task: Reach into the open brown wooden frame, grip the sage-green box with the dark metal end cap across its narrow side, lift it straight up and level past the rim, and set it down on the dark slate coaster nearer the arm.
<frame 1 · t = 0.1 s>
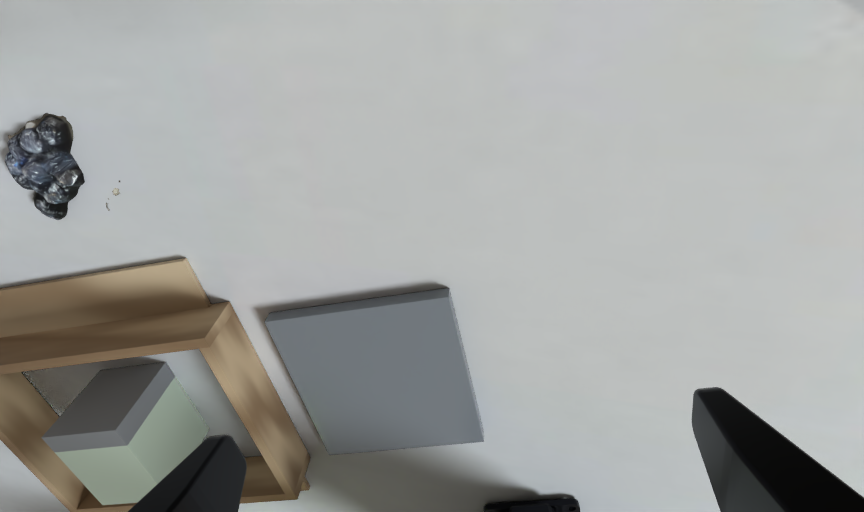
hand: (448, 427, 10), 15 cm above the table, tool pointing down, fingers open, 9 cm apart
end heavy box: (156, 400, 32), resting in wooden frame
blueberries: (68, 169, 24), on the table
coaster: (383, 375, 29), on the table
wooden frame: (156, 401, 32), on the table
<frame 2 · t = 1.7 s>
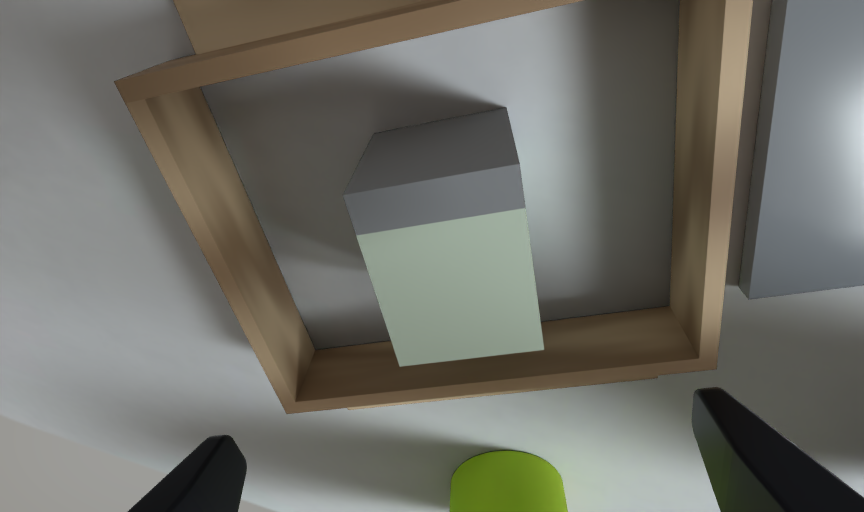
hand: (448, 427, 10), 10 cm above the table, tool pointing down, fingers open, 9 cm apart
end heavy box: (455, 201, 18), resting in wooden frame
wooden frame: (455, 202, 18), on the table
soap dispenser: (515, 484, 27), on the table
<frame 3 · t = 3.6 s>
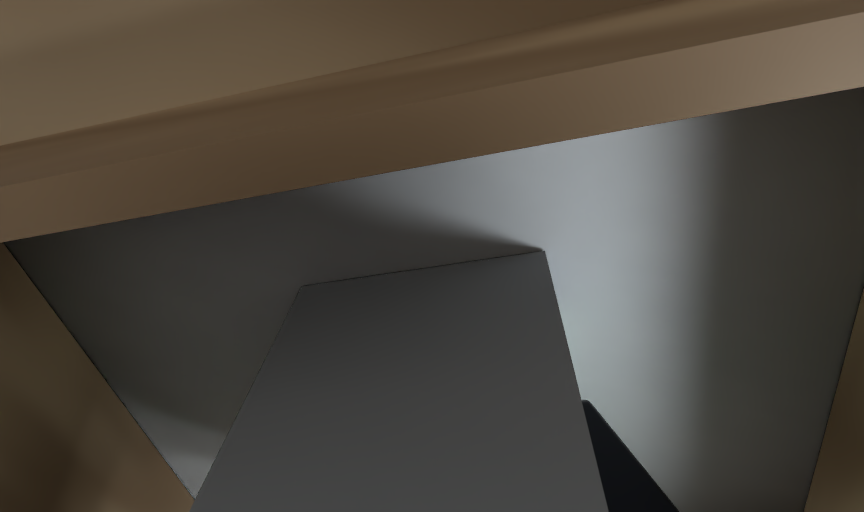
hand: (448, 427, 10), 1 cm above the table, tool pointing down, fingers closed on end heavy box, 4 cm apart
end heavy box: (450, 387, 11), resting in wooden frame, touching gripper
wooden frame: (450, 388, 11), on the table
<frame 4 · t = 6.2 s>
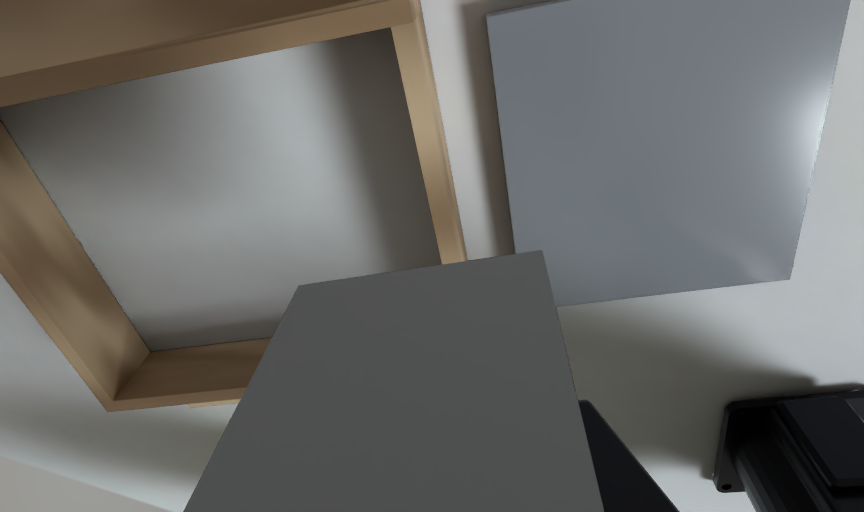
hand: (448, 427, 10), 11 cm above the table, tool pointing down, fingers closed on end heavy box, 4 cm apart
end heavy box: (448, 387, 11), point 10 cm above the table, touching gripper
coaster: (649, 156, 18), on the table
wooden frame: (249, 218, 20), on the table
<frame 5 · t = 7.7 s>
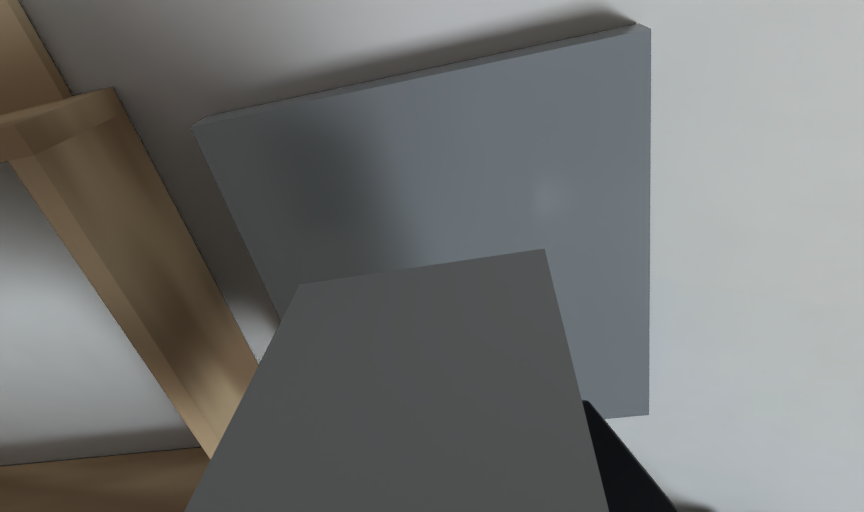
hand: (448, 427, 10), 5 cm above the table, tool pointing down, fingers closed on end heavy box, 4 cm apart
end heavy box: (449, 386, 10), point 4 cm above the table, touching gripper
coaster: (453, 274, 14), on the table
wooden frame: (4, 339, 16), on the table
when the fingers open (3 cm above the table, at t = 8.8 s): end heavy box drops 2 cm, resting on coaster.
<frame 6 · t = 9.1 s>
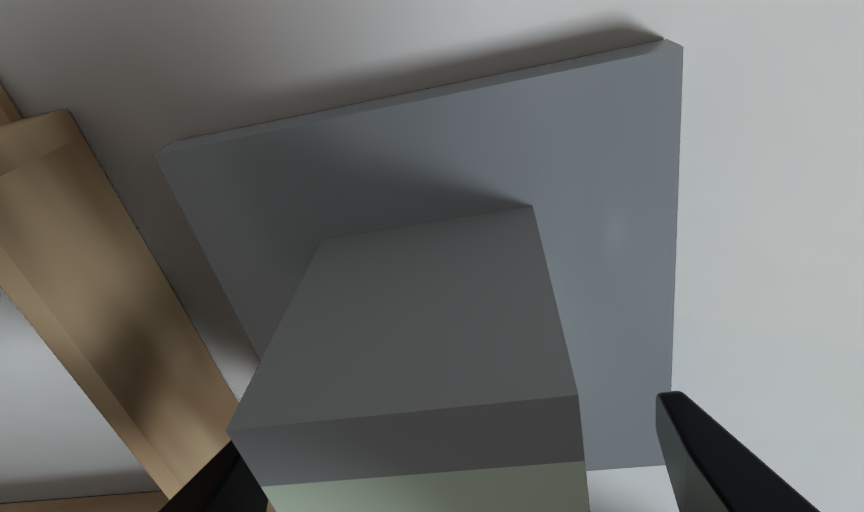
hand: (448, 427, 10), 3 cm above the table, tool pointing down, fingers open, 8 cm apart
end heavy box: (451, 334, 12), point 1 cm above the table, touching coaster
coaster: (453, 313, 13), on the table
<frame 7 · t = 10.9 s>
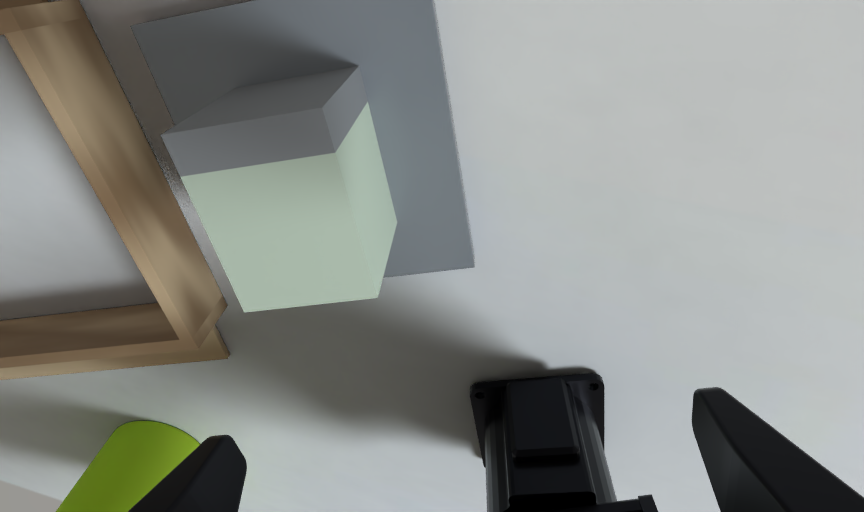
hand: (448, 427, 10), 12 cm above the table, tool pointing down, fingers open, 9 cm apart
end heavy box: (321, 159, 19), point 1 cm above the table, touching coaster
coaster: (326, 152, 19), on the table
soap dispenser: (171, 452, 31), on the table
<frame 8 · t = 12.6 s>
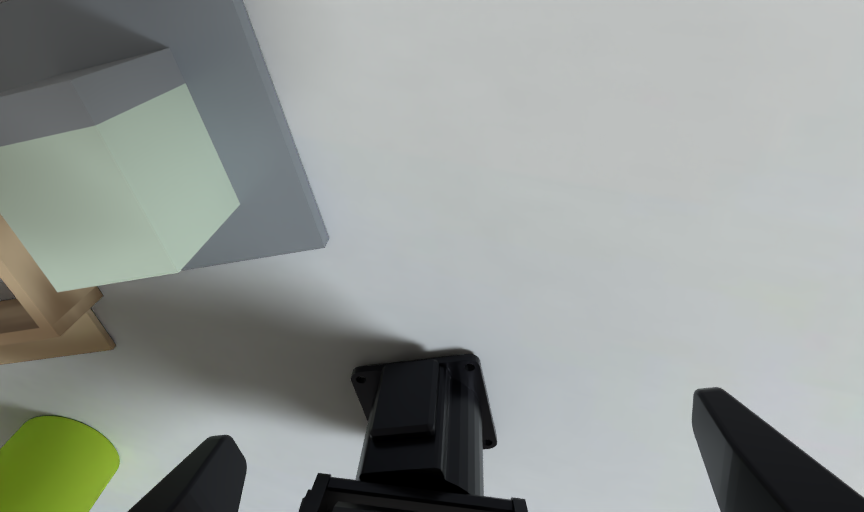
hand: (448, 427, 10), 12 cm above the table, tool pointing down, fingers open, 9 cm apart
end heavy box: (154, 143, 19), point 1 cm above the table, touching coaster
coaster: (165, 137, 20), on the table
soap dispenser: (82, 447, 31), on the table
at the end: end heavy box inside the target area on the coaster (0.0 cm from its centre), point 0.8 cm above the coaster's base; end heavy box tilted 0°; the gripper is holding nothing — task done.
